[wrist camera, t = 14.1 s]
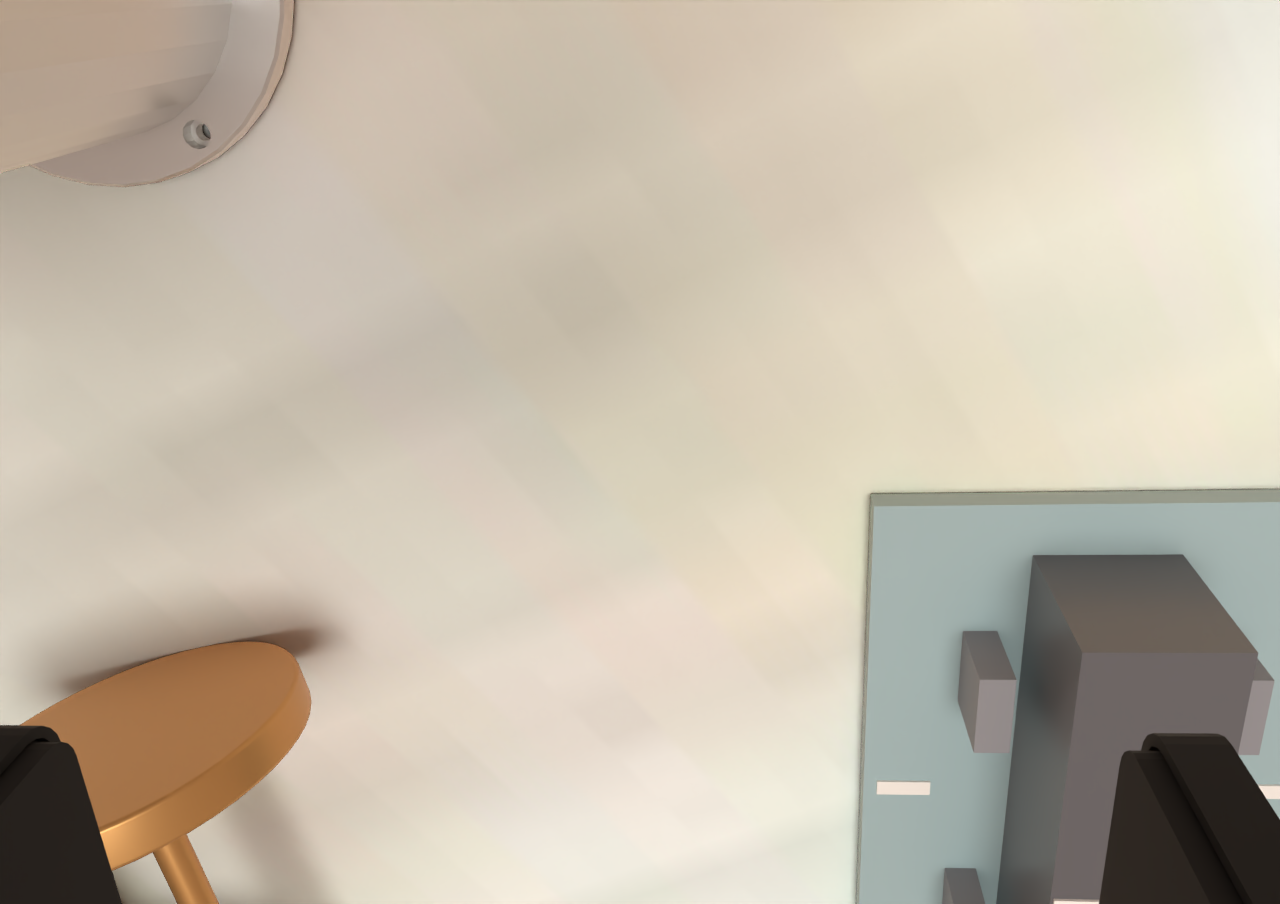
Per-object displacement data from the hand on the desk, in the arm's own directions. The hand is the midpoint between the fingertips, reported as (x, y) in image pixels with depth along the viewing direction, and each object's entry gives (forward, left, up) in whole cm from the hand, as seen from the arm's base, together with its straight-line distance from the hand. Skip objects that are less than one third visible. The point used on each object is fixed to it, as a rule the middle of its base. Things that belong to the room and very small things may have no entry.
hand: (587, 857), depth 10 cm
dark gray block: (+14, -22, -27) cm, 38 cm away
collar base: (+14, -22, -28) cm, 38 cm away
